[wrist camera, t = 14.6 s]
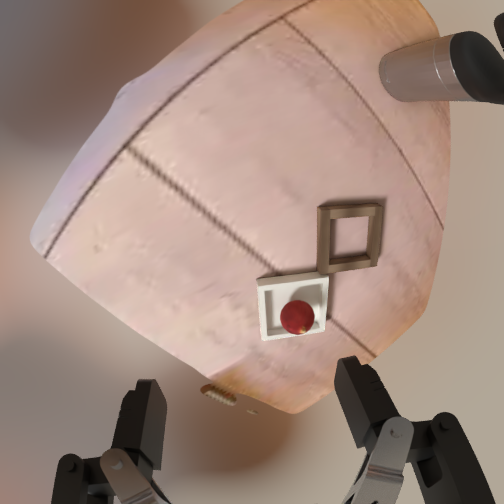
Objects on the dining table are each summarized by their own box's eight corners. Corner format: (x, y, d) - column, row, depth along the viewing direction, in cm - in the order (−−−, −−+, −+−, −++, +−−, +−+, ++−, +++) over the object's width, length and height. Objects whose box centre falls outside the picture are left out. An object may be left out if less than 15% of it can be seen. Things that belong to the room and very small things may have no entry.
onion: (298, 320, 51) (309, 349, 44) (271, 313, 50) (278, 342, 42) (313, 296, 49) (327, 323, 42) (285, 287, 48) (296, 315, 40)
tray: (324, 270, 48) (328, 277, 46) (320, 323, 53) (324, 331, 51) (256, 279, 47) (257, 286, 45) (260, 332, 52) (262, 340, 50)
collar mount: (377, 203, 43) (382, 206, 42) (371, 261, 48) (376, 266, 46) (317, 207, 43) (321, 210, 41) (316, 268, 47) (319, 274, 46)
